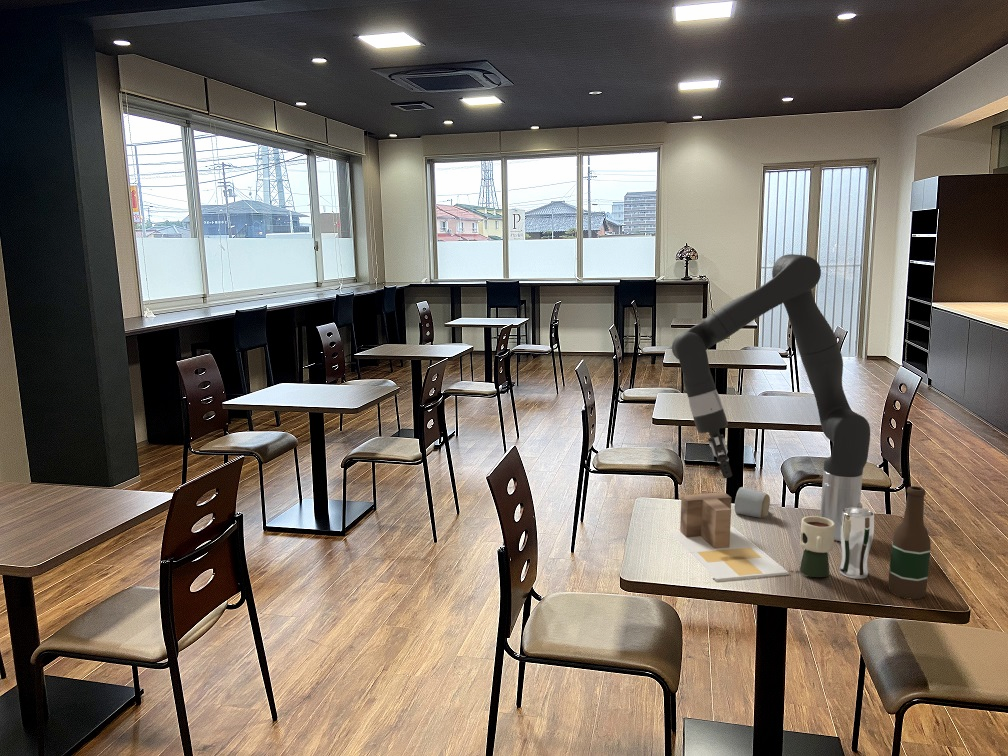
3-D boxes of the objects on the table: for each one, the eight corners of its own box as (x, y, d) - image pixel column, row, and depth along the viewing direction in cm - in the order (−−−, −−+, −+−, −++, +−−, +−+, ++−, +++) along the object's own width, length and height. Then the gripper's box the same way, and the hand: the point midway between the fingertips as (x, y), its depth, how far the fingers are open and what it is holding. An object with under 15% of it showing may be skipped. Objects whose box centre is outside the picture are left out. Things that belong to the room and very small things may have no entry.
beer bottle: (933, 600, 165) (944, 494, 160) (897, 600, 165) (907, 494, 160) (915, 583, 172) (925, 482, 168) (880, 583, 173) (889, 482, 168)
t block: (680, 531, 202) (681, 495, 200) (722, 528, 204) (724, 492, 202) (699, 550, 190) (700, 511, 188) (744, 546, 192) (746, 508, 190)
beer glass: (867, 582, 173) (873, 519, 170) (834, 575, 177) (839, 514, 174) (871, 570, 179) (877, 510, 176) (839, 564, 183) (844, 504, 180)
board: (667, 532, 203) (667, 530, 203) (730, 527, 206) (730, 525, 206) (715, 581, 175) (715, 578, 175) (788, 574, 178) (788, 571, 178)
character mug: (796, 562, 184) (800, 511, 181) (828, 566, 182) (832, 514, 179) (799, 582, 174) (803, 528, 171) (833, 586, 171) (837, 532, 169)
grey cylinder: (763, 523, 208) (765, 496, 207) (733, 517, 213) (734, 490, 211) (772, 511, 217) (774, 485, 216) (743, 506, 222) (745, 480, 220)
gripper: (724, 409, 180) (744, 475, 180) (721, 404, 194) (740, 465, 194) (693, 418, 182) (713, 483, 182) (692, 412, 196) (710, 473, 196)
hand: (727, 474), depth 188 cm, fingers open, 8 cm apart
